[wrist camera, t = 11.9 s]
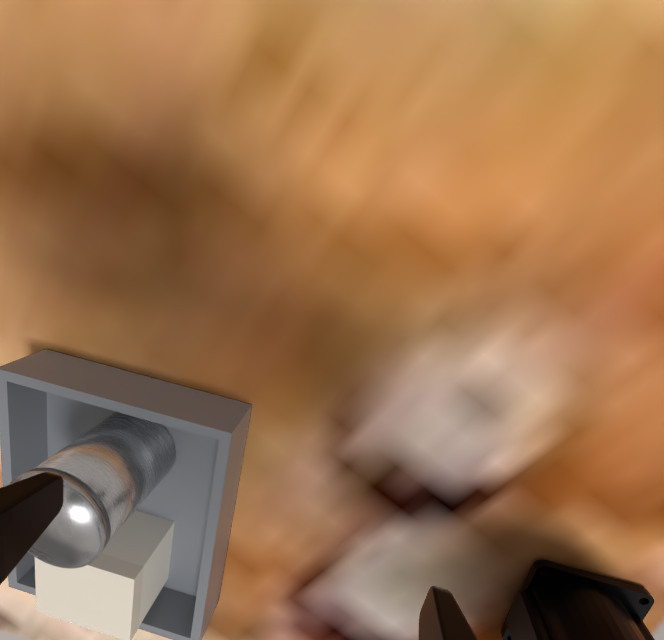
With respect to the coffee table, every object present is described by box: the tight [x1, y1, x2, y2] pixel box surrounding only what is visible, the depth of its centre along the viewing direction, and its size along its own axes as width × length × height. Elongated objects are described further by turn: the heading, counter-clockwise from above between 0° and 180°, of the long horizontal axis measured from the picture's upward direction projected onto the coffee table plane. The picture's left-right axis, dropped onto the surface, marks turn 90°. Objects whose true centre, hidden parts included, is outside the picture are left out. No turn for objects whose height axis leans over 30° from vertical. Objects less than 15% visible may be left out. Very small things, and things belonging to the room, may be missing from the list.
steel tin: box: [8, 412, 175, 569], centre depth 20 cm, size 5×5×6 cm
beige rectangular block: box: [35, 510, 174, 640], centre depth 23 cm, size 6×5×4 cm
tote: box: [0, 349, 252, 640], centre depth 23 cm, size 13×16×3 cm
